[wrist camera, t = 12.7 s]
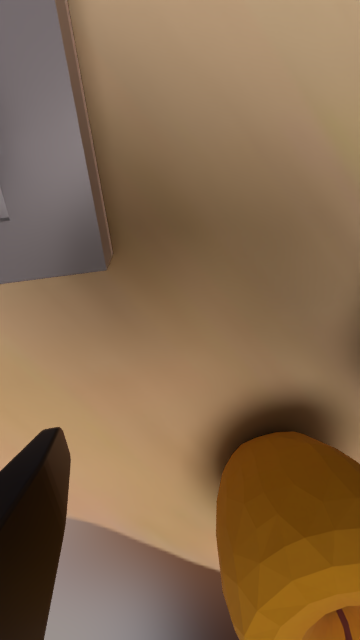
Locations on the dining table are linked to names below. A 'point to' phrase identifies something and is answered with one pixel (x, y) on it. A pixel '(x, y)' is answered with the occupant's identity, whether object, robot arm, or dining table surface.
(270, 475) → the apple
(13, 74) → the square plate with hole
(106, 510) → the dining table surface
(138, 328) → the dining table surface
